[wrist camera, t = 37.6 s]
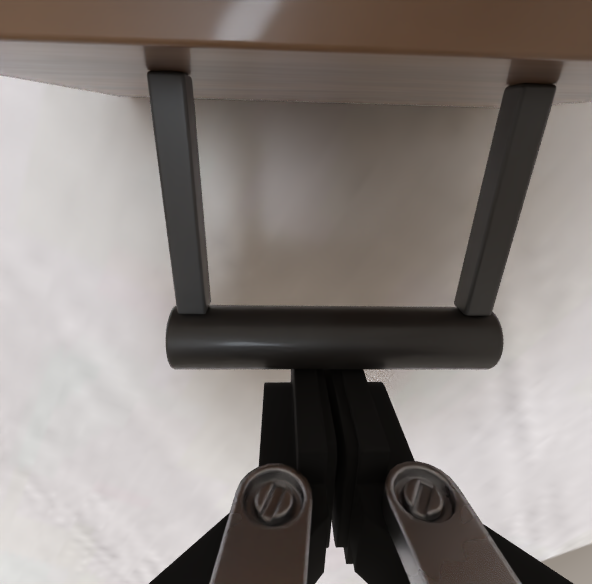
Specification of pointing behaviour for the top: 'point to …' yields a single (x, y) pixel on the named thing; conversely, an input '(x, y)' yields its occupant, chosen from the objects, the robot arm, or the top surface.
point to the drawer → (329, 89)
